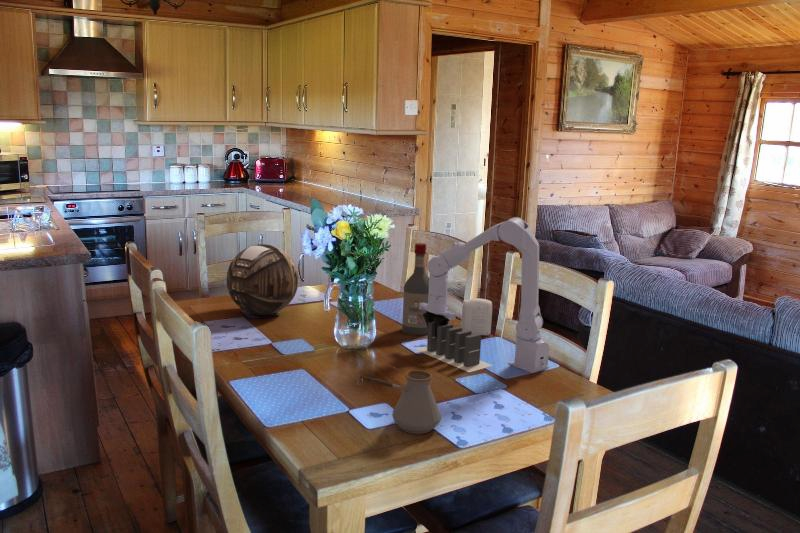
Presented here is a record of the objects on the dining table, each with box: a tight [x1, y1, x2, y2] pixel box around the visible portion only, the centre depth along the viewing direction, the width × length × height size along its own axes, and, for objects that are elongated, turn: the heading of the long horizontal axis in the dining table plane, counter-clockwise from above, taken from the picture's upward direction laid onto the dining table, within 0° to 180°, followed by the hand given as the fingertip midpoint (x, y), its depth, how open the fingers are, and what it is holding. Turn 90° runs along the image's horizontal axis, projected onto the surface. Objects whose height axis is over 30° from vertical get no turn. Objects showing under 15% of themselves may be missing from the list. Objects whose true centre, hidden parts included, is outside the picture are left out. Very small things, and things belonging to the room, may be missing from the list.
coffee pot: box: [356, 369, 442, 435], centre depth 160 cm, size 21×12×15 cm, turn 120°
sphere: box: [226, 243, 300, 316], centre depth 247 cm, size 25×25×25 cm
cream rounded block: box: [460, 297, 493, 336], centre depth 234 cm, size 10×4×12 cm, turn 98°
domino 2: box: [436, 322, 454, 356], centre depth 213 cm, size 2×5×9 cm, turn 130°
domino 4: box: [454, 330, 472, 363], centre depth 207 cm, size 2×5×9 cm, turn 129°
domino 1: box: [426, 322, 437, 352], centre depth 216 cm, size 2×5×9 cm, turn 129°
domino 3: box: [445, 326, 462, 359], centre depth 210 cm, size 2×5×9 cm, turn 129°
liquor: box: [401, 242, 430, 336], centre depth 233 cm, size 9×9×30 cm
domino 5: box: [464, 333, 482, 367], centre depth 204 cm, size 2×5×9 cm, turn 129°
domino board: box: [414, 345, 494, 373], centre depth 211 cm, size 24×10×1 cm, turn 39°
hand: (435, 336), depth 216 cm, fingers open, 2 cm apart
